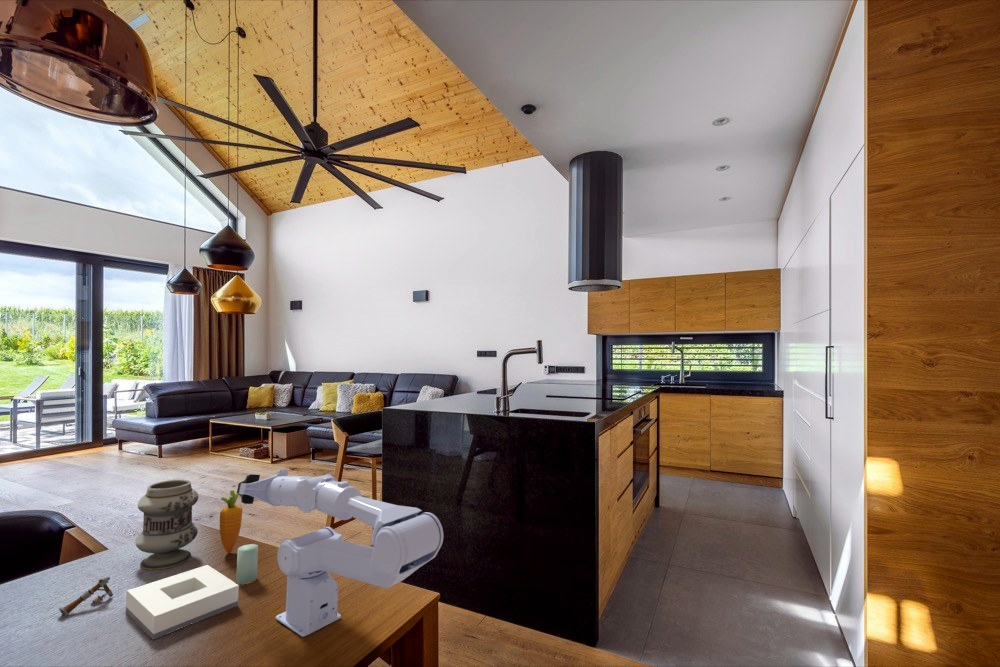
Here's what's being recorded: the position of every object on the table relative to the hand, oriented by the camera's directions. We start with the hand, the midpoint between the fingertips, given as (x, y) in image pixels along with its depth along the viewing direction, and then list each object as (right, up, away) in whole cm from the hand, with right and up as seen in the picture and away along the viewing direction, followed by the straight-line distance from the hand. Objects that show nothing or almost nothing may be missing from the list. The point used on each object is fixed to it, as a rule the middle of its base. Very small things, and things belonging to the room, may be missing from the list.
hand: (257, 488), depth 101 cm
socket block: (-9, -20, -11) cm, 24 cm away
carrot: (-14, -21, +14) cm, 29 cm away
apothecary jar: (-26, -20, +9) cm, 34 cm away
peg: (-3, -20, +1) cm, 20 cm away
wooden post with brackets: (-27, -19, -11) cm, 35 cm away
